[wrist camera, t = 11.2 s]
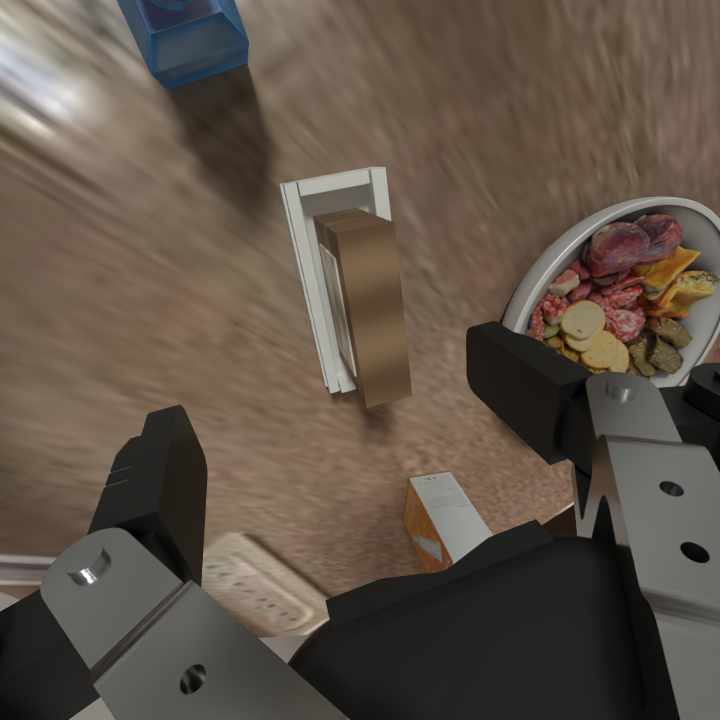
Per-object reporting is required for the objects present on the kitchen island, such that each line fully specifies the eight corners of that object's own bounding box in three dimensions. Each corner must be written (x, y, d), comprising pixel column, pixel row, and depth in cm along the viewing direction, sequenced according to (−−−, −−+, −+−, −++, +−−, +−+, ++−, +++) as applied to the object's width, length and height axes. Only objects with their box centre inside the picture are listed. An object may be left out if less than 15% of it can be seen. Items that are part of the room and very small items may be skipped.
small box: (407, 476, 53) (453, 562, 42) (451, 470, 54) (506, 550, 43) (401, 521, 56) (441, 611, 45) (442, 514, 58) (491, 599, 47)
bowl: (696, 351, 57) (757, 376, 51) (518, 458, 57) (555, 498, 51) (688, 139, 42) (774, 135, 36) (448, 285, 42) (487, 309, 36)
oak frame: (378, 347, 42) (413, 394, 33) (338, 357, 41) (364, 408, 33) (358, 207, 35) (396, 221, 27) (310, 216, 35) (334, 234, 26)
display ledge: (324, 382, 43) (330, 398, 40) (278, 184, 34) (282, 186, 31) (396, 362, 45) (408, 377, 42) (372, 166, 35) (385, 167, 32)
